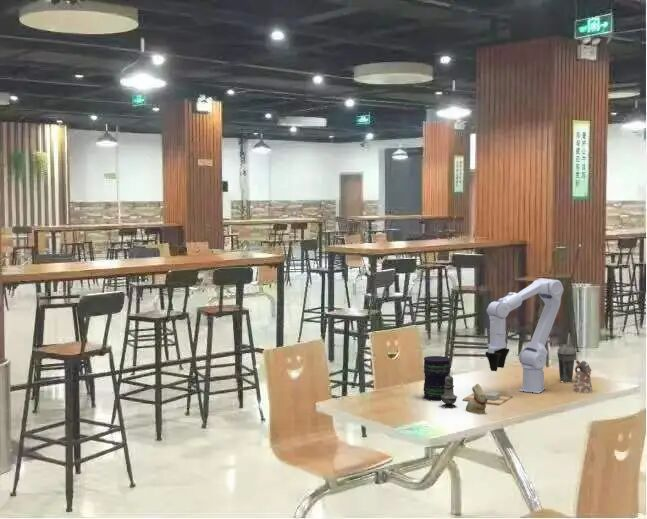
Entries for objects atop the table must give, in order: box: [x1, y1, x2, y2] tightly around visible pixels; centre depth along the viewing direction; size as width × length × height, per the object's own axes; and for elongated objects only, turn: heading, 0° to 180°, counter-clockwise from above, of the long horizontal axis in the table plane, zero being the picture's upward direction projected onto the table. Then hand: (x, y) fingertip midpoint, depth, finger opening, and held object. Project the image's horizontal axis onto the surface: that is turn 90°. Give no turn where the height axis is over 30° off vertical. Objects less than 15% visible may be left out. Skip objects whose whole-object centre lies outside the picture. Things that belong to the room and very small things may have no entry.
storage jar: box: [423, 355, 451, 402], centre depth 308 cm, size 10×10×15 cm
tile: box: [483, 390, 501, 400], centre depth 306 cm, size 2×8×6 cm
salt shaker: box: [441, 372, 458, 409], centre depth 295 cm, size 6×6×12 cm
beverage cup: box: [557, 332, 577, 382], centre depth 336 cm, size 7×7×20 cm
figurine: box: [572, 359, 593, 394], centre depth 319 cm, size 7×7×12 cm
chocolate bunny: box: [465, 383, 488, 414], centre depth 287 cm, size 6×8×10 cm
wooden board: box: [462, 392, 514, 406], centre depth 306 cm, size 15×14×1 cm
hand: (497, 369), depth 312 cm, fingers open, 7 cm apart
